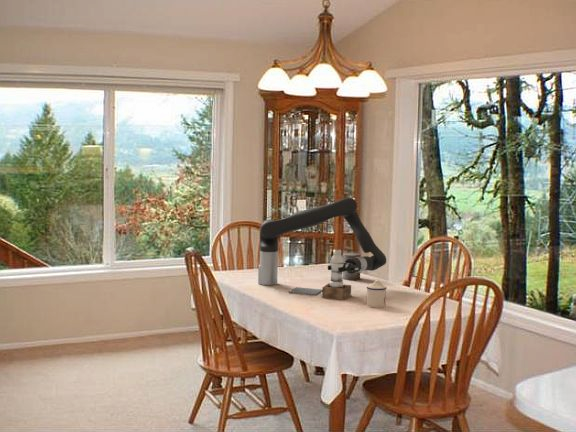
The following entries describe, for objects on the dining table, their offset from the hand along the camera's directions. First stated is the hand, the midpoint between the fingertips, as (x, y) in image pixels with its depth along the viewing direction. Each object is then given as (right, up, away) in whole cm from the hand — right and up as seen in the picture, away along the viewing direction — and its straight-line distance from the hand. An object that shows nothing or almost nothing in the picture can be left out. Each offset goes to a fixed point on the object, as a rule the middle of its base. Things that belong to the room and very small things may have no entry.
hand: (333, 268), depth 340 cm
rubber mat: (-13, -12, +12) cm, 22 cm away
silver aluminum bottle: (+1, -11, +3) cm, 11 cm away
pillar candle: (+13, -9, +49) cm, 51 cm away
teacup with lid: (+18, -16, -13) cm, 27 cm away
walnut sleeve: (+2, -14, +3) cm, 14 cm away
